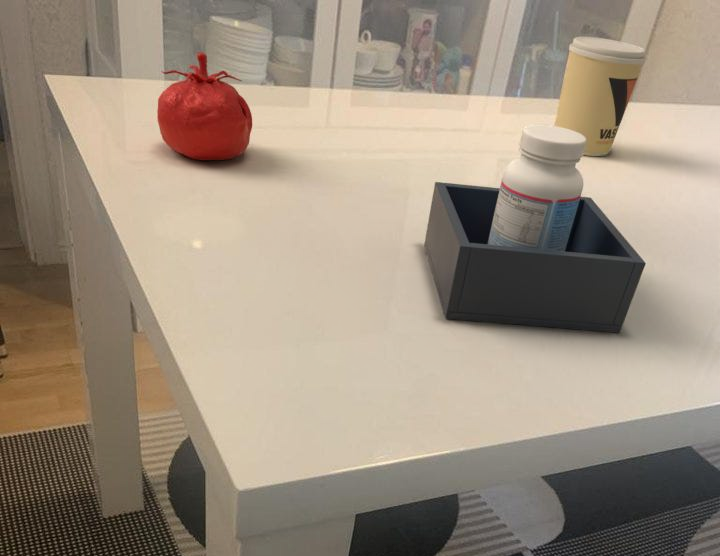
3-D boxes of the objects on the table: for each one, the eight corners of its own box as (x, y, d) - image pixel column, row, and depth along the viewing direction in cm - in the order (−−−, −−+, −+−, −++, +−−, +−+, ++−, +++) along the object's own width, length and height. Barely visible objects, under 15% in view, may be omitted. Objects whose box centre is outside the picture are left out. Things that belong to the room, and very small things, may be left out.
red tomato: (179, 171, 73) (174, 66, 67) (143, 141, 79) (136, 42, 73) (269, 165, 77) (272, 66, 72) (228, 136, 84) (228, 43, 78)
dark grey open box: (571, 259, 67) (590, 197, 63) (620, 333, 56) (646, 263, 53) (423, 246, 65) (435, 181, 61) (445, 318, 55) (460, 245, 51)
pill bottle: (536, 264, 63) (575, 123, 56) (566, 296, 59) (612, 148, 52) (470, 262, 62) (501, 118, 55) (495, 296, 57) (533, 143, 50)
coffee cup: (603, 163, 93) (636, 55, 85) (534, 144, 96) (561, 39, 89) (623, 149, 100) (656, 48, 92) (558, 132, 103) (585, 33, 95)
